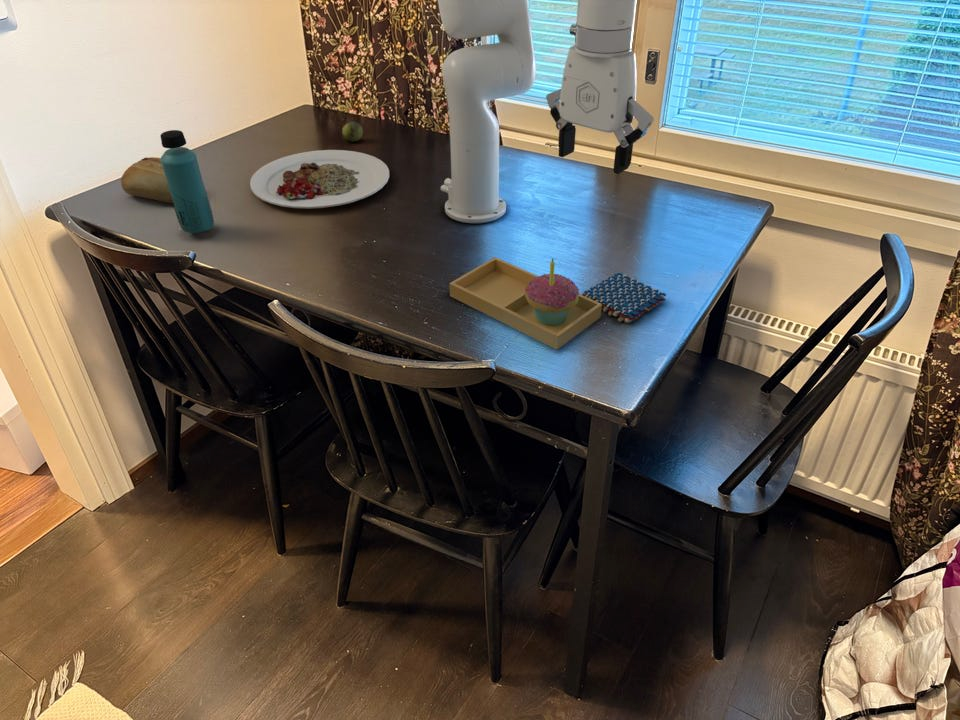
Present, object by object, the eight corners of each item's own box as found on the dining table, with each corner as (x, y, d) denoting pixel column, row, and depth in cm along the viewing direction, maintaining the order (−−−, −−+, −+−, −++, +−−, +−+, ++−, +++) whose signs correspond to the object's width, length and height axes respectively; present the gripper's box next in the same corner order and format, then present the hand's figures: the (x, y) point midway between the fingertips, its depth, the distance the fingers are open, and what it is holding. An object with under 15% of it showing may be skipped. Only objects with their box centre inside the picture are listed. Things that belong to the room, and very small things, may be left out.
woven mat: (616, 278, 126) (618, 268, 124) (667, 302, 119) (669, 292, 118) (577, 301, 120) (578, 290, 119) (628, 327, 114) (630, 317, 113)
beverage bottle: (223, 227, 142) (198, 128, 129) (203, 243, 137) (174, 141, 124) (195, 222, 143) (168, 124, 131) (174, 238, 138) (144, 136, 126)
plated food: (405, 161, 167) (404, 147, 165) (367, 220, 144) (365, 204, 142) (283, 153, 171) (281, 140, 169) (227, 209, 148) (223, 194, 146)
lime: (340, 142, 177) (338, 122, 174) (355, 136, 180) (353, 117, 177) (352, 146, 175) (350, 126, 171) (367, 141, 177) (365, 121, 174)
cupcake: (573, 335, 112) (579, 268, 104) (520, 329, 113) (522, 263, 106) (578, 305, 118) (585, 240, 111) (528, 300, 120) (530, 235, 112)
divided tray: (449, 296, 121) (449, 283, 120) (495, 269, 128) (495, 256, 127) (556, 350, 109) (558, 336, 108) (600, 317, 116) (602, 304, 115)
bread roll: (143, 184, 158) (131, 149, 153) (203, 191, 155) (193, 155, 150) (115, 202, 151) (102, 166, 146) (177, 210, 148) (166, 173, 143)
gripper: (535, 34, 98) (531, 155, 108) (645, 55, 89) (629, 186, 99) (567, 24, 102) (560, 141, 113) (675, 43, 93) (657, 169, 103)
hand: (593, 162), depth 106 cm, fingers open, 9 cm apart
